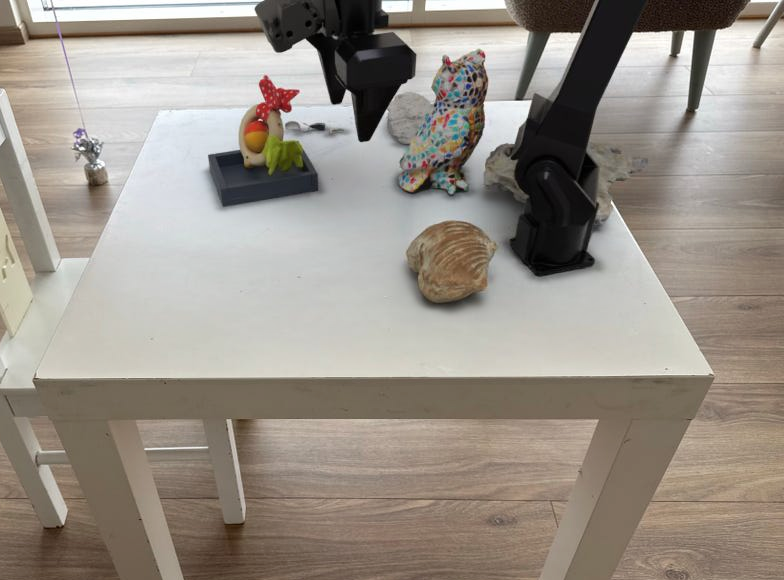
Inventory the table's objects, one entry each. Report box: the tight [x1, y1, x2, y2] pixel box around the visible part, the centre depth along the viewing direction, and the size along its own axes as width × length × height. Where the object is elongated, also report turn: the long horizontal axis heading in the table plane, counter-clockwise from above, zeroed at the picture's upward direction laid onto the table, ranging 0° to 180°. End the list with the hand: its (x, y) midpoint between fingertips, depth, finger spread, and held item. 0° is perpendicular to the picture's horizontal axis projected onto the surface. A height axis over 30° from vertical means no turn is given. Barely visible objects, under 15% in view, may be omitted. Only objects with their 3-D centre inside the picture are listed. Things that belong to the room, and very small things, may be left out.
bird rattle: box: [238, 74, 304, 175], centre depth 87 cm, size 6×11×9 cm
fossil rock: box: [482, 141, 649, 227], centre depth 82 cm, size 20×6×15 cm
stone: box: [386, 91, 433, 145], centre depth 98 cm, size 10×5×10 cm
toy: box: [284, 120, 345, 137], centre depth 99 cm, size 1×8×2 cm
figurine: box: [397, 48, 489, 195], centre depth 83 cm, size 9×9×15 cm
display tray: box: [207, 140, 319, 207], centre depth 89 cm, size 12×9×2 cm
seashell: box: [405, 219, 499, 304], centre depth 71 cm, size 9×7×8 cm
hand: (349, 121), depth 74 cm, fingers open, 9 cm apart
